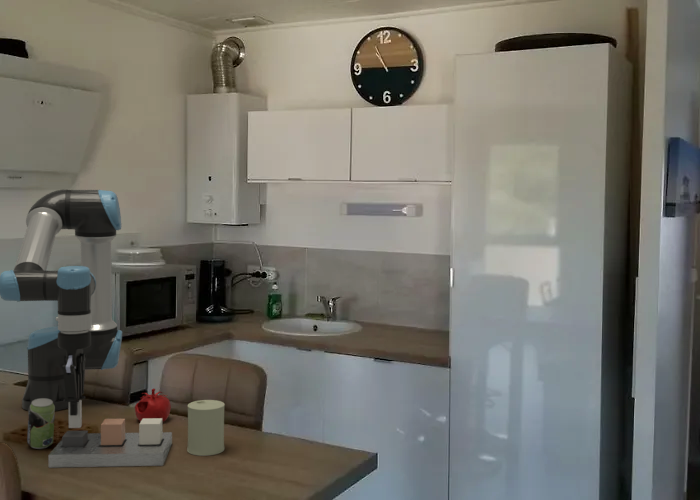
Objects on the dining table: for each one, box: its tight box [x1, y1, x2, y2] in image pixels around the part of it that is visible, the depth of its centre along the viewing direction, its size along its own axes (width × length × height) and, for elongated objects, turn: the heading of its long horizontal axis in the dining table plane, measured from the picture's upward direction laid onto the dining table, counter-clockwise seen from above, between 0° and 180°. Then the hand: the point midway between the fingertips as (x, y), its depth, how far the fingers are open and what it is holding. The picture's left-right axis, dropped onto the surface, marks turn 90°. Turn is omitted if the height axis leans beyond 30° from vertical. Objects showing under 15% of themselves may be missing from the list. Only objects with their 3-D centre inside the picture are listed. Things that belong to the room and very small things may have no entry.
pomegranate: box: [134, 388, 172, 423], centre depth 215 cm, size 10×10×9 cm
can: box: [186, 399, 226, 457], centre depth 191 cm, size 9×9×12 cm
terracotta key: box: [100, 418, 126, 445], centre depth 186 cm, size 5×5×5 cm
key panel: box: [48, 431, 173, 469], centre depth 186 cm, size 16×26×3 cm, turn 96°
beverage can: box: [26, 398, 56, 450], centre depth 191 cm, size 6×7×12 cm
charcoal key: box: [61, 430, 89, 447], centre depth 185 cm, size 5×5×5 cm
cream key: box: [138, 418, 163, 445], centre depth 187 cm, size 5×5×5 cm
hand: (75, 426), depth 185 cm, fingers closed
